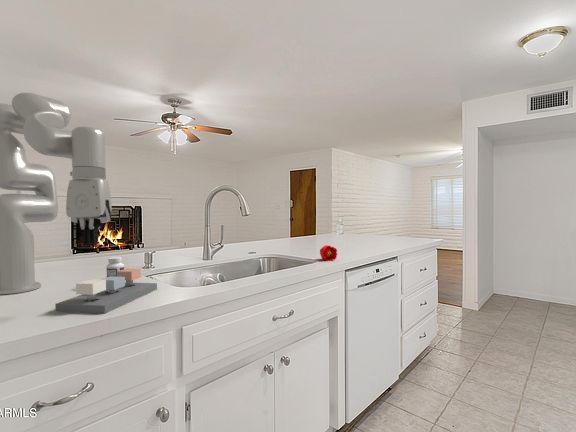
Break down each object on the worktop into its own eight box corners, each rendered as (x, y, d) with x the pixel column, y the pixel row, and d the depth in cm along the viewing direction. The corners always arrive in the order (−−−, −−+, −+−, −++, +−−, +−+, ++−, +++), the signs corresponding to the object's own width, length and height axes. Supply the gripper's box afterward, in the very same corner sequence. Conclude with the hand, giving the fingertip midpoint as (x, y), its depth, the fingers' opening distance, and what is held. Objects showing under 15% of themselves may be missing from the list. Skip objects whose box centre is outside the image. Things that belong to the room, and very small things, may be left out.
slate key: (98, 296, 89) (98, 279, 89) (110, 292, 94) (110, 276, 94) (114, 297, 89) (113, 280, 89) (125, 292, 94) (124, 276, 93)
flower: (333, 248, 165) (340, 249, 158) (328, 261, 164) (334, 264, 157) (321, 242, 164) (326, 243, 156) (315, 256, 163) (321, 258, 155)
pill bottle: (120, 283, 111) (120, 256, 111) (127, 285, 108) (126, 257, 108) (104, 286, 107) (103, 257, 107) (110, 288, 104) (110, 259, 104)
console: (55, 311, 81) (55, 303, 80) (117, 288, 104) (117, 282, 104) (105, 313, 79) (104, 305, 79) (157, 289, 102) (156, 283, 102)
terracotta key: (117, 286, 97) (117, 271, 97) (127, 283, 102) (127, 268, 102) (131, 287, 97) (131, 271, 97) (141, 283, 101) (140, 268, 101)
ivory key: (76, 301, 81) (76, 283, 81) (90, 296, 86) (90, 279, 86) (93, 302, 81) (92, 283, 81) (106, 297, 86) (105, 279, 85)
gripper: (51, 174, 80) (53, 245, 80) (105, 172, 78) (106, 245, 78) (75, 177, 87) (77, 242, 88) (124, 176, 86) (125, 242, 86)
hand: (91, 243), depth 83 cm, fingers closed
